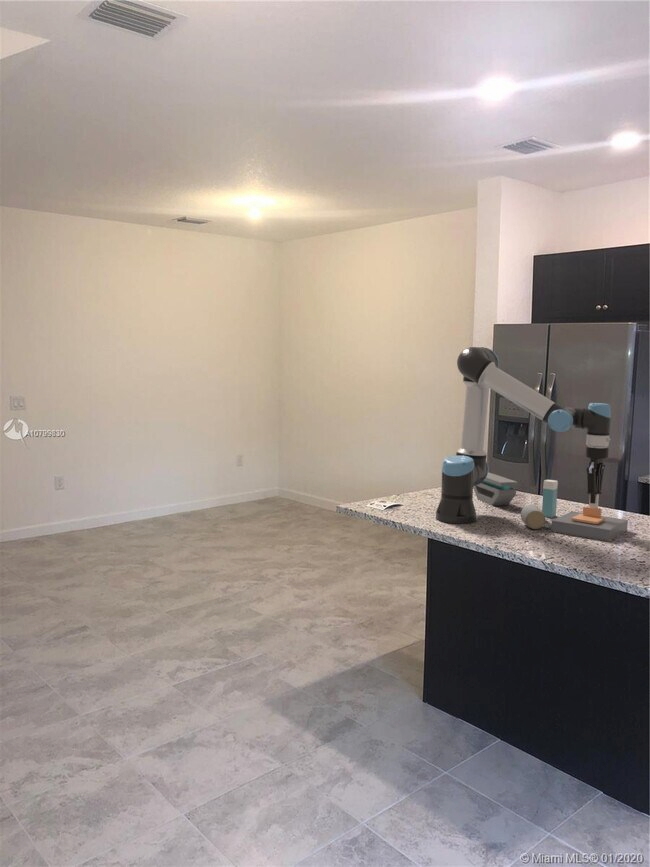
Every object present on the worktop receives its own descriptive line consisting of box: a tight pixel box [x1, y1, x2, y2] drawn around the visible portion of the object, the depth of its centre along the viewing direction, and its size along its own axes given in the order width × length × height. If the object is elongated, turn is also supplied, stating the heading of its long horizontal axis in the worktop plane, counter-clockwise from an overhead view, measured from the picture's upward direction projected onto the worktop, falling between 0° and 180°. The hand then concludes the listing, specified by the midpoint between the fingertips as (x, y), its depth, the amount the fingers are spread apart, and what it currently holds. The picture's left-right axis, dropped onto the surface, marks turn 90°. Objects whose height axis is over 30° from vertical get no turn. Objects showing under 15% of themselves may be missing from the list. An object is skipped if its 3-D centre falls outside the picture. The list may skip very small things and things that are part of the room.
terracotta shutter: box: [571, 506, 606, 524], centre depth 246 cm, size 9×9×4 cm
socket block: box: [550, 510, 629, 542], centre depth 248 cm, size 20×20×4 cm
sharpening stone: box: [473, 471, 519, 506], centre depth 295 cm, size 25×8×11 cm, turn 16°
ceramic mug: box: [520, 504, 552, 530], centre depth 252 cm, size 11×8×8 cm
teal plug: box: [541, 479, 559, 519], centre depth 270 cm, size 4×4×14 cm
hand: (593, 511), depth 250 cm, fingers closed
